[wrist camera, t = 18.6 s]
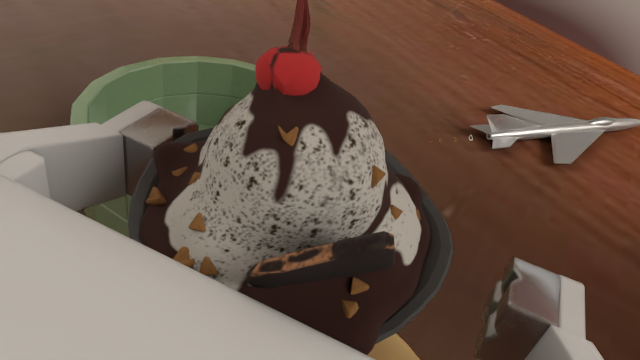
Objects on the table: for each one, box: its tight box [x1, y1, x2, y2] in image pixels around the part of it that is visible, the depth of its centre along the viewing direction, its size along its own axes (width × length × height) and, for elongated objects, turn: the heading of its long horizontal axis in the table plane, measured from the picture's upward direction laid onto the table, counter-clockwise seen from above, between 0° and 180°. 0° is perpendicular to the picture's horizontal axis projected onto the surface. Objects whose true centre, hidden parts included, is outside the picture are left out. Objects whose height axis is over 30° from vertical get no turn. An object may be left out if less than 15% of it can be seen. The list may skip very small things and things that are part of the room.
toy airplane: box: [439, 105, 640, 164], centre depth 38 cm, size 8×21×2 cm, turn 112°
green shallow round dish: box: [70, 56, 257, 237], centre depth 26 cm, size 12×13×4 cm
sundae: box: [128, 0, 454, 355], centre depth 12 cm, size 7×7×15 cm
